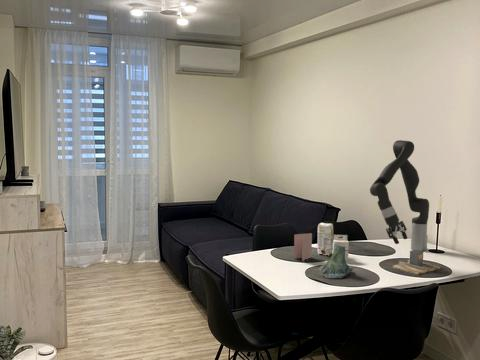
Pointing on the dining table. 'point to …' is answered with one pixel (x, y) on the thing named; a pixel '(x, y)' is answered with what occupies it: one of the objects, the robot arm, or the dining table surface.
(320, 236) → the juice carton
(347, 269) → the tree stump
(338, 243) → the ink cartridge box
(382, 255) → the dining table surface
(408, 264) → the rail board
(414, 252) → the module
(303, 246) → the greeting card
